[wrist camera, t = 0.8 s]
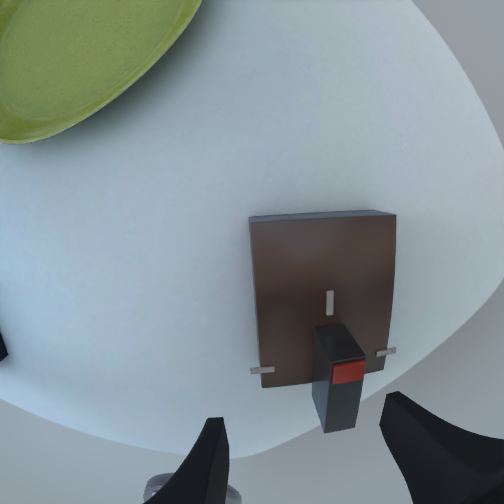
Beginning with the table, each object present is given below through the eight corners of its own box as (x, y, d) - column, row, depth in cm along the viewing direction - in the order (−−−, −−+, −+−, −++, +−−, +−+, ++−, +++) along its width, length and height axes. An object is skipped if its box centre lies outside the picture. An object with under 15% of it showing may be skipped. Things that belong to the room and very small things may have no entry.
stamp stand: (370, 379, 21) (385, 403, 18) (253, 396, 20) (255, 424, 17) (382, 209, 18) (406, 214, 15) (238, 217, 18) (237, 223, 15)
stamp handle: (338, 391, 17) (356, 430, 13) (311, 395, 17) (325, 436, 13) (344, 323, 16) (368, 358, 12) (313, 327, 16) (331, 364, 12)
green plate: (79, 205, 17) (53, 209, 14) (-35, 88, 14) (-56, 83, 11) (276, -19, 14) (281, -45, 11) (103, -74, 11) (93, -91, 8)
